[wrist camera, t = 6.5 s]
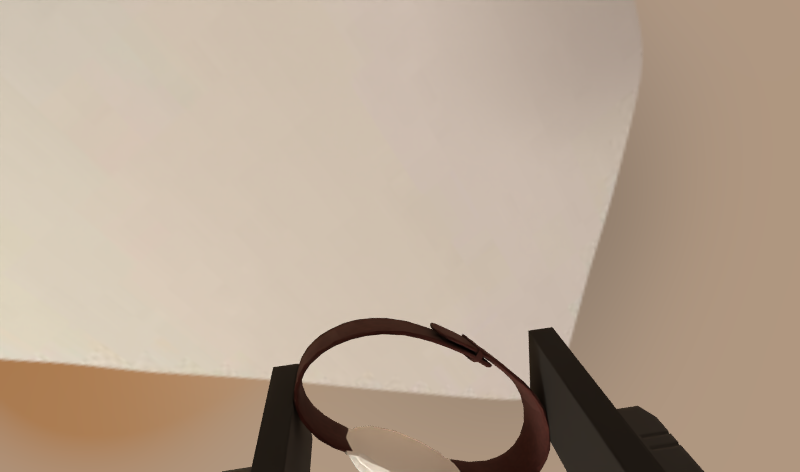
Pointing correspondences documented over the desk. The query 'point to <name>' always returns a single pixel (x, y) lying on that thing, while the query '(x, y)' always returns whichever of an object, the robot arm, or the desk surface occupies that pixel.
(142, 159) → the desk surface
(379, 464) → the watch
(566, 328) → the desk surface
